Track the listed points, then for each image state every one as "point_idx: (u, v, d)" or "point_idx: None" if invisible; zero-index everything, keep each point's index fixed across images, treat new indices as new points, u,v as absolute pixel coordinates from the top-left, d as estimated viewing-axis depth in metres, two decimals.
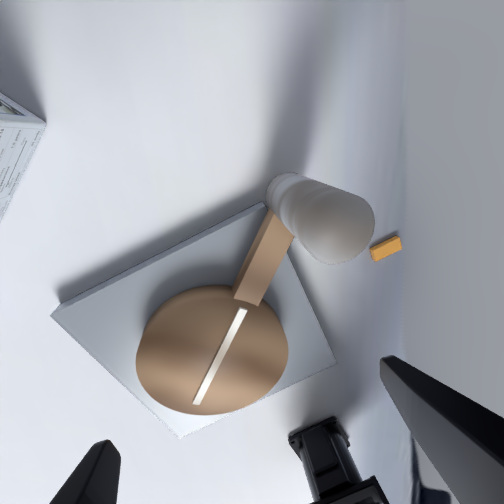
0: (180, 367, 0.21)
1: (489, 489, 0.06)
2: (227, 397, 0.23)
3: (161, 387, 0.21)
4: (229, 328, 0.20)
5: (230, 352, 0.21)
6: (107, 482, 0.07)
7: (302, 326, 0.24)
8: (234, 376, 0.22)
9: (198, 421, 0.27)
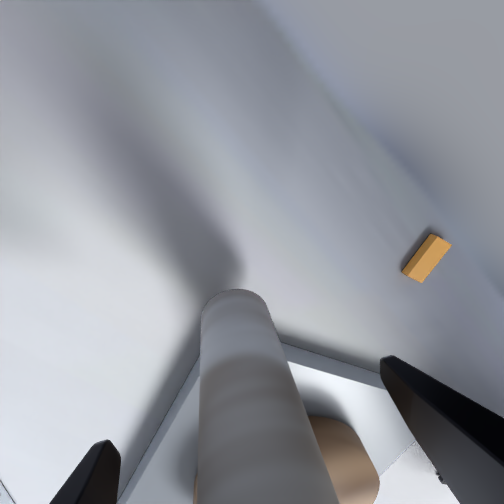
0: None
1: (488, 489, 0.06)
2: None
3: None
4: None
5: None
6: (107, 482, 0.07)
7: (371, 405, 0.17)
8: None
9: None
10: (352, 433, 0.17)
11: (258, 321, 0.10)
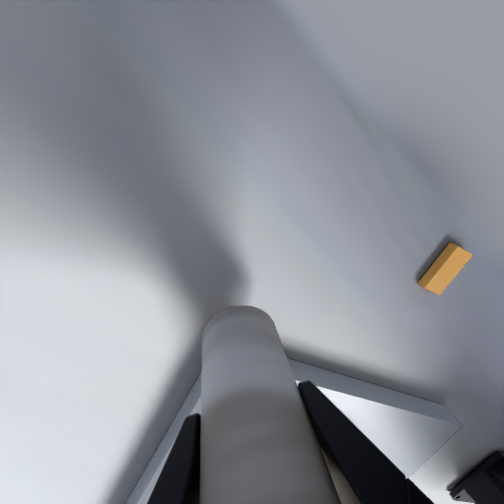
0: None
1: None
2: None
3: None
4: None
5: None
6: None
7: (383, 424, 0.16)
8: None
9: None
10: None
11: (266, 345, 0.09)
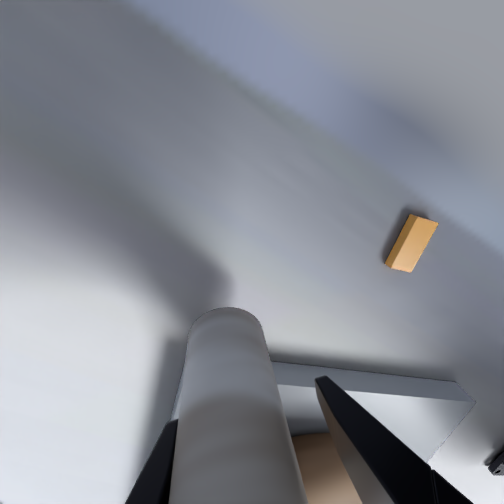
0: None
1: None
2: None
3: None
4: None
5: None
6: None
7: (381, 412, 0.15)
8: None
9: None
10: None
11: (244, 347, 0.09)
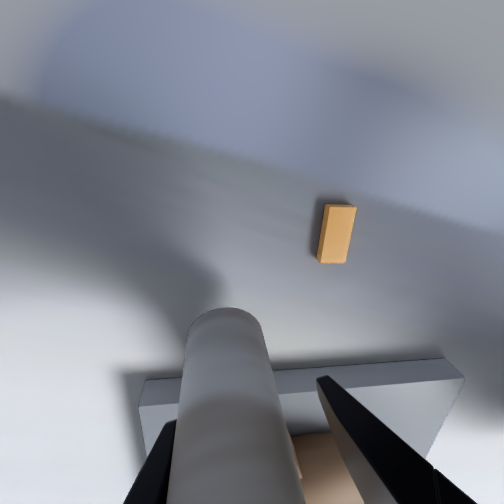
0: None
1: None
2: None
3: None
4: None
5: None
6: None
7: None
8: None
9: None
10: None
11: (242, 348, 0.09)
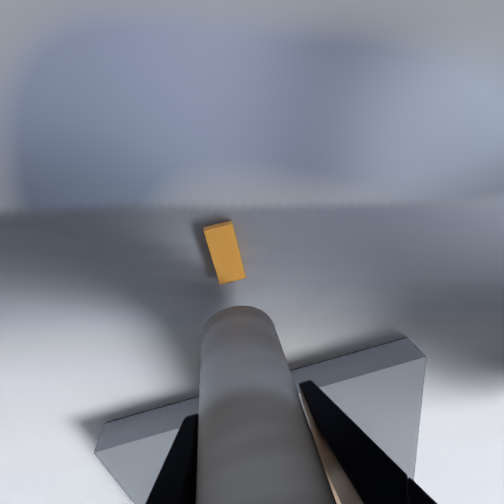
0: None
1: None
2: None
3: None
4: None
5: None
6: None
7: None
8: None
9: None
10: None
11: (264, 345, 0.09)
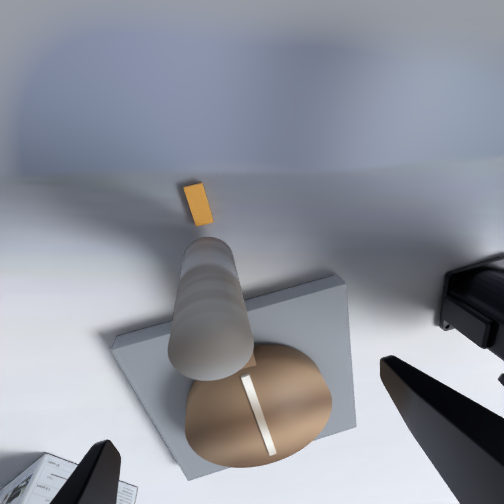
0: (235, 438, 0.21)
1: (489, 489, 0.06)
2: (296, 435, 0.23)
3: (234, 458, 0.22)
4: (248, 393, 0.20)
5: (266, 407, 0.21)
6: (107, 482, 0.07)
7: (269, 321, 0.20)
8: (287, 419, 0.22)
9: (345, 412, 0.26)
10: (309, 359, 0.22)
11: (219, 252, 0.15)
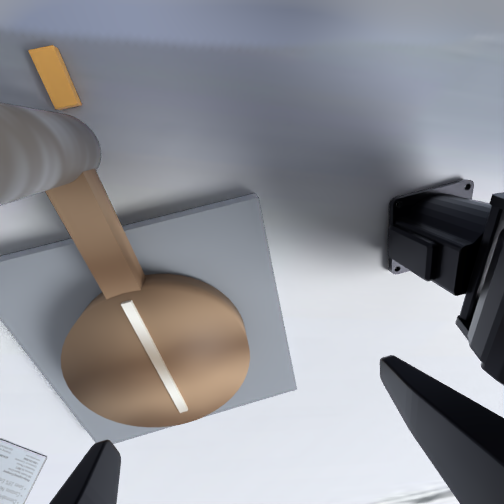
0: (132, 388, 0.18)
1: (488, 489, 0.06)
2: (210, 388, 0.19)
3: (136, 414, 0.19)
4: (137, 329, 0.16)
5: (164, 349, 0.17)
6: (107, 482, 0.07)
7: (167, 243, 0.17)
8: (195, 367, 0.18)
9: (281, 370, 0.23)
10: (221, 295, 0.18)
11: (49, 112, 0.11)
